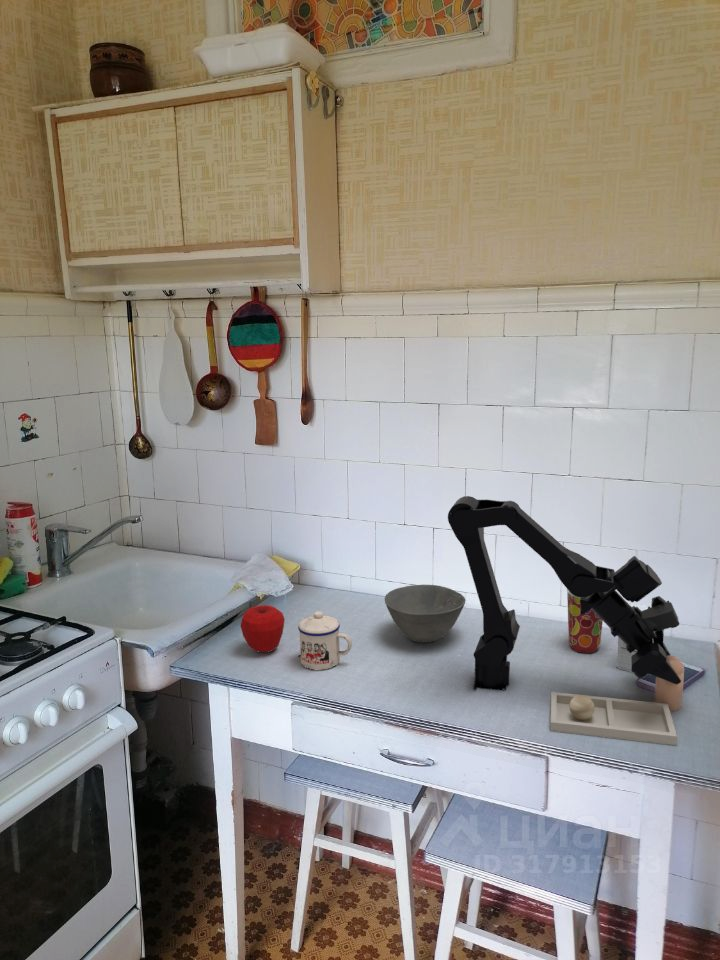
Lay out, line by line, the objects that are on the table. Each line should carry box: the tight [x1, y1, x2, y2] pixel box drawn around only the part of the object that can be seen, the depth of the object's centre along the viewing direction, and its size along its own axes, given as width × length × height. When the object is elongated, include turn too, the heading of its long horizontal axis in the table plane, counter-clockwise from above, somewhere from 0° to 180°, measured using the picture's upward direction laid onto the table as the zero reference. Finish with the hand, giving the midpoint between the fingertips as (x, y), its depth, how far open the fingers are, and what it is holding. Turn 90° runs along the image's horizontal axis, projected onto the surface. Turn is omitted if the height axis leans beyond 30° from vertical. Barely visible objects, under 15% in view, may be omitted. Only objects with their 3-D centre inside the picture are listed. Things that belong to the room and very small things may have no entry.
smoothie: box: [566, 588, 604, 654], centre depth 160 cm, size 8×8×20 cm
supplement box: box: [616, 602, 665, 674], centre depth 152 cm, size 7×7×13 cm
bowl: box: [384, 584, 466, 644], centre depth 169 cm, size 19×19×10 cm
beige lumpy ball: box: [570, 694, 594, 720], centre depth 133 cm, size 4×4×4 cm
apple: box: [240, 604, 285, 653], centre depth 165 cm, size 10×10×11 cm
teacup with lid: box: [297, 611, 353, 670], centre depth 158 cm, size 12×9×12 cm
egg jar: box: [653, 655, 685, 712], centre depth 136 cm, size 5×5×10 cm
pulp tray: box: [549, 691, 678, 746], centre depth 132 cm, size 21×11×2 cm, turn 75°
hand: (678, 676), depth 135 cm, fingers closed on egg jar, 5 cm apart
